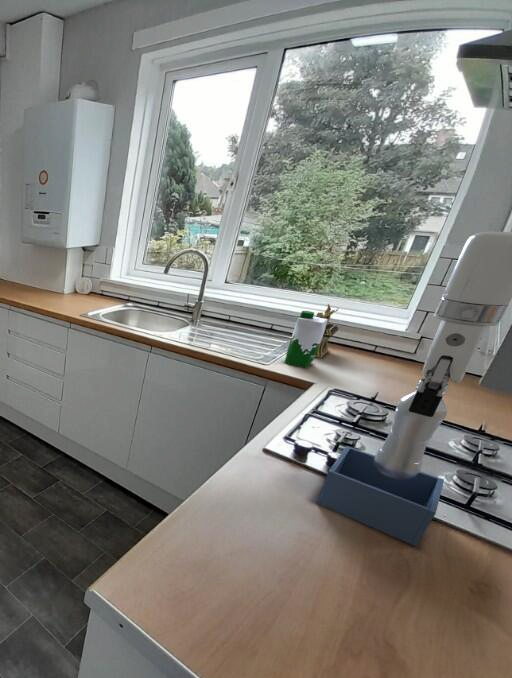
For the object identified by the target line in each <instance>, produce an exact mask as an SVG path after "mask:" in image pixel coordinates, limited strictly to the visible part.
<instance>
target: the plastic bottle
mask: <svg viewBox="0 0 512 678" xmlns="http://www.w3.org/2000/svg"><path fill="white" fill-rule="evenodd" d="M424 380H425V377H424V378H420V379H419V381H418V383H417V385H416V386H415V387H414V389H415V391H413V392H411V393H409V394H407V395H405V396H403V397H402V398H400V400H399V401H397V403H396V407H395V411H394V415H393V416H394V417H393V421H392V424H391V427H390V430H389V432H388V435H387V437H386V438H385V440H384V442H383V444H382V445H381V447H380V448H378V450H377V452H376V453H375V454H374V455H375V456H374V461H373V464H374V467H375V469H376V470H377V471H378V472H380V473H382V474H383V475H386V476H388V477H391V478H394V479H398V480H410V479H412V478H414V477H416V475H417V474H418V473H419V472H420V471H421V469H422V465H423V458H424V455H425V451H426V448H427V445H428V444H429V442H430V440H431V439H432V437H433V435H434V434H435V432H436V431H437V429H438V428H439V426H440V425H441V424H442V423H443V421H444V420H445V418H446V417H447V415H448V408H447V406H446V403H445V401H444V399H443V398H442V399H441V401H440V403H439V405H438V407H437V409H436V411H435V413H434V415H433V417H428V416H424V415H420V414H416V413H413V412H410V411H409V408H410V405H411V403H412V401H413V399H414V397H415V395H416V392H417V390H418V391H419V390H420V388H421V386H422V384H423V382H424ZM430 381H431V380H429V382H430ZM440 384H442V382H441V383H440ZM449 387H450V384H448V383H447V384H446V387H445V389H444V391H443V393H442V395H441V396H443V397H444V396H445V395H447V391H448V388H449ZM425 388H426V387H425ZM423 392H424V391H423Z"/></svg>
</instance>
